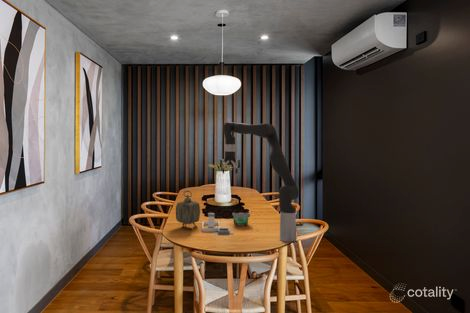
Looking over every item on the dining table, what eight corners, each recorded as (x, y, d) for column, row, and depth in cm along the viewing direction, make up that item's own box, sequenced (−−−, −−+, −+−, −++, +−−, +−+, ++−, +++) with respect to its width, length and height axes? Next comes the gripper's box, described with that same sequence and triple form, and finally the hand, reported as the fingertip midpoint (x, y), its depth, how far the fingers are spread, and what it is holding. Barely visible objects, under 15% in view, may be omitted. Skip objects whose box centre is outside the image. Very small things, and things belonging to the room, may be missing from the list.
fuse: (214, 227, 227) (214, 212, 226) (214, 229, 223) (214, 214, 222) (208, 227, 227) (208, 212, 226) (208, 229, 222) (208, 214, 222)
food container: (233, 228, 227) (233, 214, 226) (231, 226, 233) (232, 212, 232) (251, 228, 229) (251, 213, 229) (249, 225, 235) (249, 211, 235)
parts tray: (219, 225, 234) (219, 221, 234) (220, 232, 216) (220, 227, 216) (202, 225, 233) (202, 221, 233) (201, 233, 215) (201, 228, 215)
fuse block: (232, 232, 218) (232, 227, 218) (233, 236, 210) (233, 231, 210) (214, 232, 217) (214, 228, 217) (214, 236, 209) (214, 231, 209)
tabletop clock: (199, 228, 228) (200, 191, 226) (191, 231, 220) (191, 192, 219) (183, 224, 235) (183, 189, 234) (174, 227, 227) (174, 190, 226)
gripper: (239, 150, 241) (239, 173, 242) (219, 150, 240) (219, 173, 241) (240, 151, 234) (240, 174, 235) (220, 150, 232) (219, 174, 233)
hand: (229, 173), depth 238 cm, fingers open, 8 cm apart
